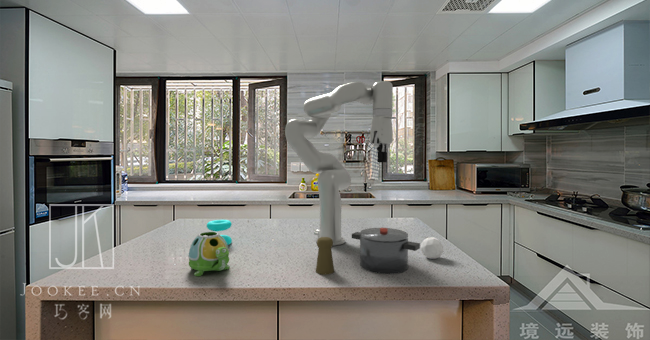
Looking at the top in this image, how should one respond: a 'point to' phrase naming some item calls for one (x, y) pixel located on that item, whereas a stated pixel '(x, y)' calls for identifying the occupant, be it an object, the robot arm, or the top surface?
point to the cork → (324, 256)
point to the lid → (384, 235)
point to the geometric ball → (432, 248)
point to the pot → (384, 255)
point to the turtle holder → (208, 253)
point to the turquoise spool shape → (220, 228)
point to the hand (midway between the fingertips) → (382, 162)
